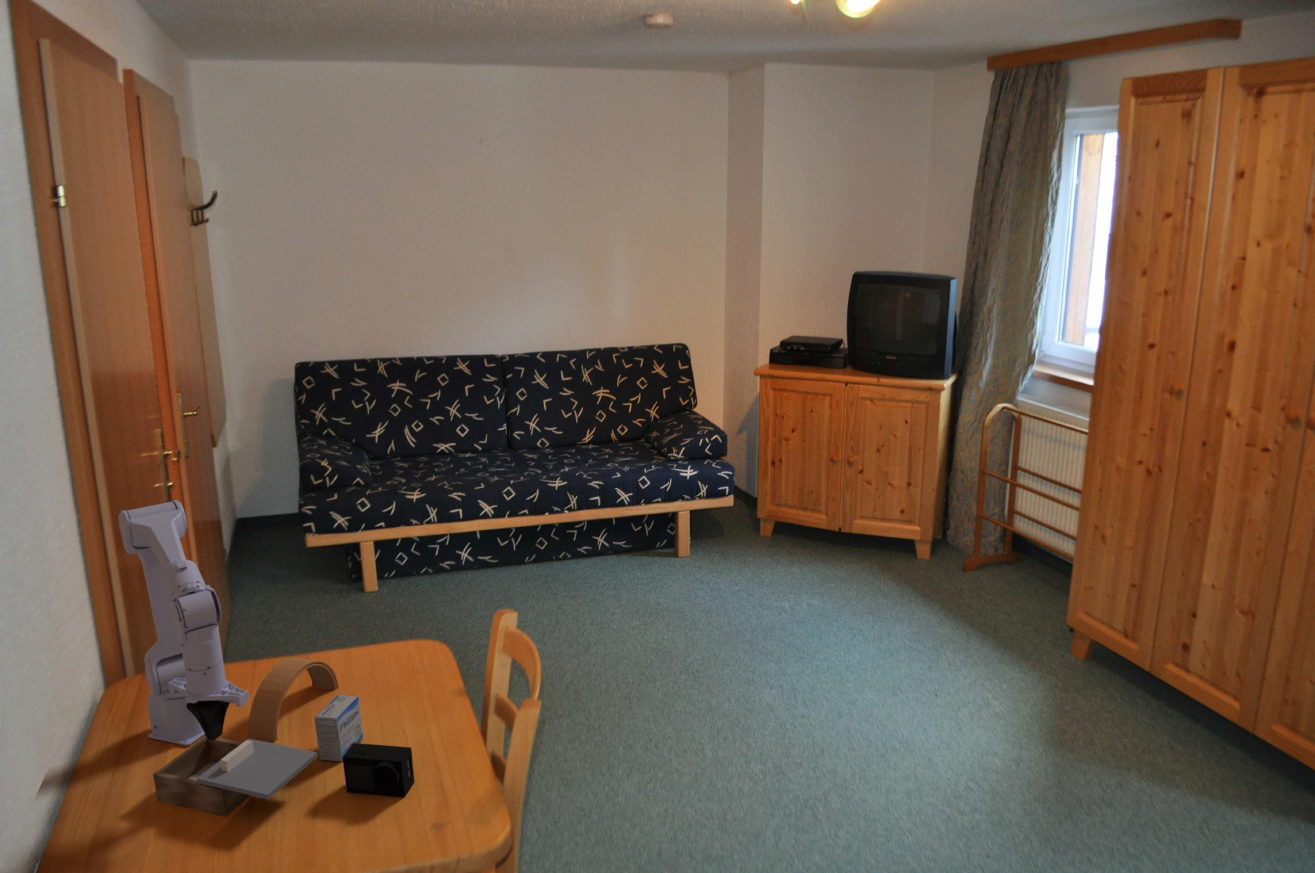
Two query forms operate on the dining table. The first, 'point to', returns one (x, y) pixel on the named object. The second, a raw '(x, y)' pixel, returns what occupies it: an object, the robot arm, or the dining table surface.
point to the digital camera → (378, 770)
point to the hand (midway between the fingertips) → (215, 736)
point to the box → (181, 783)
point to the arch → (283, 693)
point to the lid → (257, 768)
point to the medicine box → (338, 727)
